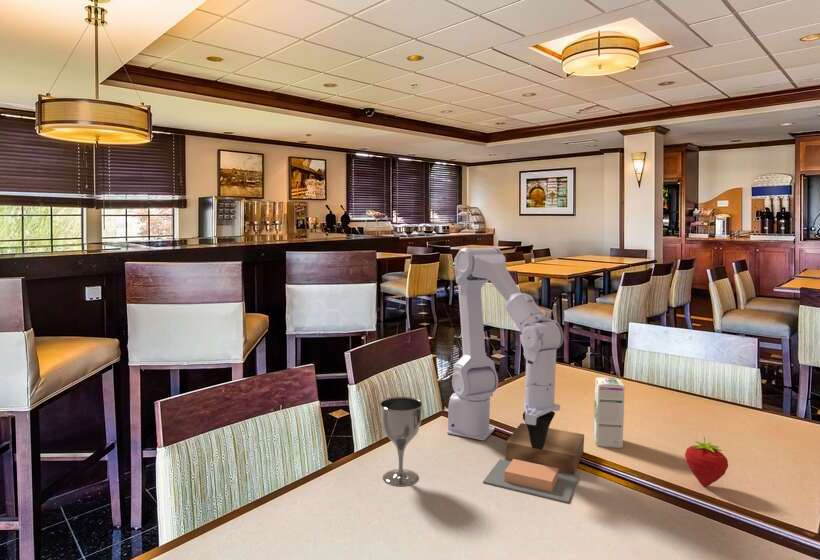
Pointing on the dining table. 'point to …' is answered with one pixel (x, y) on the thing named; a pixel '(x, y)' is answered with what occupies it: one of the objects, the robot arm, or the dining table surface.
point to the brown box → (547, 449)
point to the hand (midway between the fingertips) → (537, 447)
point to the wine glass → (401, 434)
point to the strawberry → (706, 462)
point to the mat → (559, 492)
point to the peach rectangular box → (531, 475)
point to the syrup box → (609, 412)
